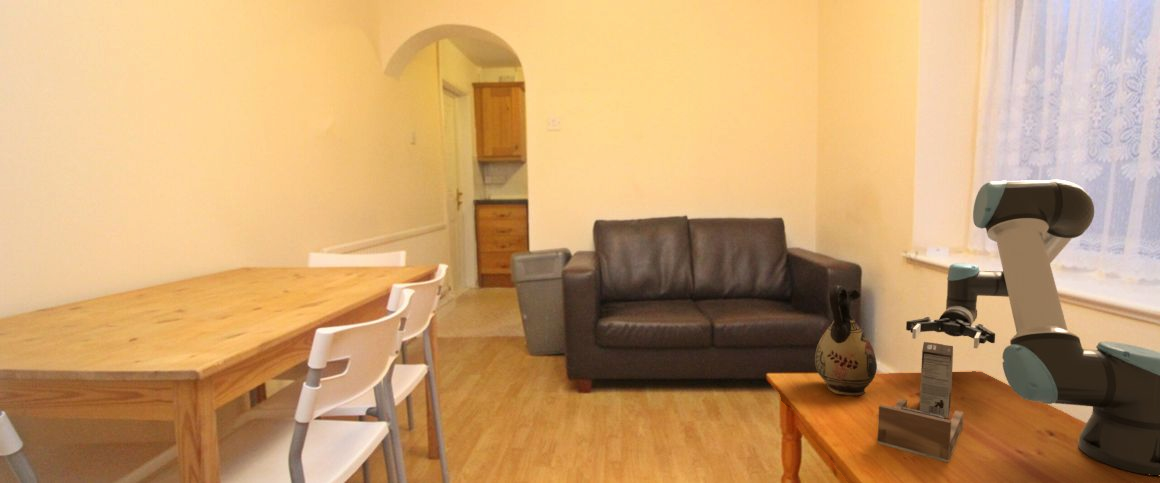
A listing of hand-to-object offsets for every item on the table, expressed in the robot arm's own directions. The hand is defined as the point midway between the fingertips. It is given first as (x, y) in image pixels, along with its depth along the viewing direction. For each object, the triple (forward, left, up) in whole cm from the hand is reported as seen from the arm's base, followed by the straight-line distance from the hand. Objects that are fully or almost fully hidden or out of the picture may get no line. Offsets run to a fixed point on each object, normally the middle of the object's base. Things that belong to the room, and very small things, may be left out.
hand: (943, 338), depth 140 cm
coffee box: (-2, +10, -16) cm, 19 cm away
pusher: (-5, +29, -15) cm, 33 cm away
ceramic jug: (+19, +15, -16) cm, 29 cm away
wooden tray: (-5, +27, -16) cm, 32 cm away
